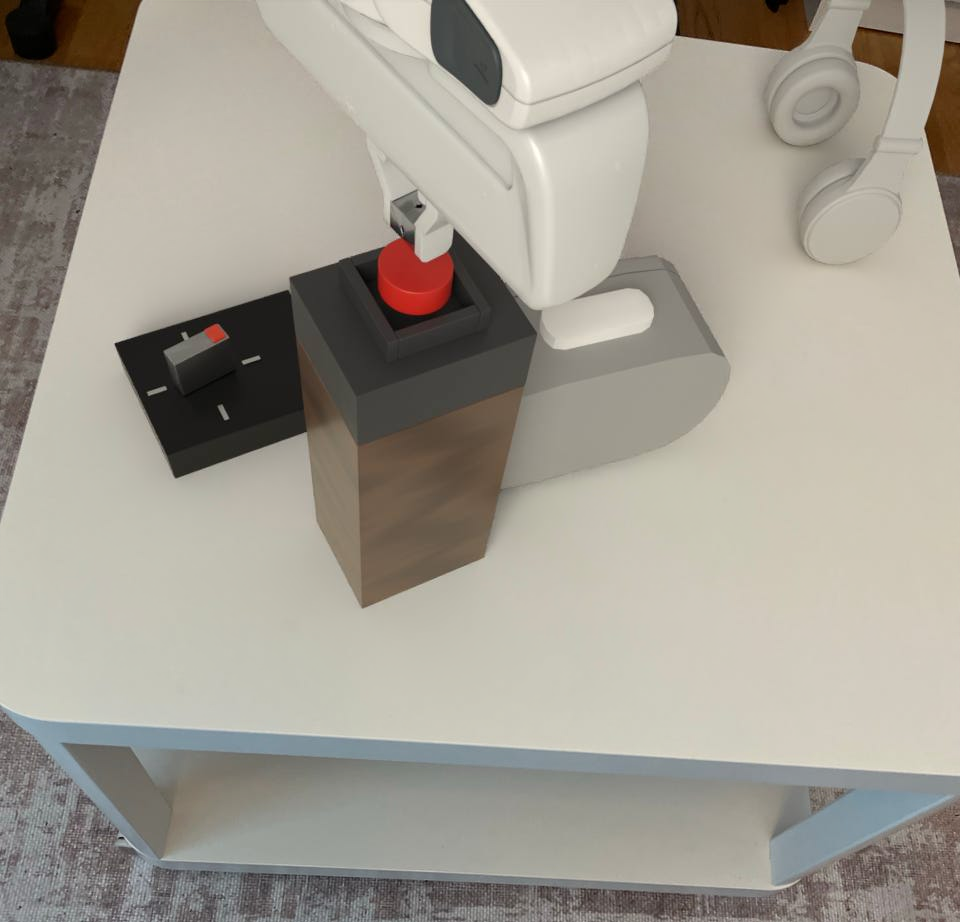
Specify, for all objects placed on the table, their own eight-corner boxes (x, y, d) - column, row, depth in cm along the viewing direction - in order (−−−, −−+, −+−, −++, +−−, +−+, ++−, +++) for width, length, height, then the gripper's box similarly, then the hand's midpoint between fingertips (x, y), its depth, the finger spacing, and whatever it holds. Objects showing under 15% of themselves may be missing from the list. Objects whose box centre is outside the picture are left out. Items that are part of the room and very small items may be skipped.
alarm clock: (647, 355, 77) (699, 227, 65) (695, 445, 74) (759, 329, 62) (417, 408, 72) (426, 282, 60) (458, 507, 69) (476, 395, 57)
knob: (183, 396, 67) (173, 362, 63) (172, 382, 67) (162, 348, 64) (236, 369, 68) (229, 334, 65) (225, 356, 69) (217, 320, 65)
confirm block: (357, 446, 47) (355, 377, 42) (294, 332, 49) (286, 255, 44) (525, 384, 49) (542, 313, 44) (458, 279, 52) (467, 201, 47)
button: (397, 325, 43) (398, 302, 42) (365, 271, 44) (365, 247, 43) (464, 303, 44) (466, 280, 43) (430, 251, 45) (432, 227, 44)
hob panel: (175, 479, 67) (166, 454, 65) (123, 369, 71) (113, 341, 68) (347, 417, 71) (346, 391, 68) (291, 316, 75) (288, 287, 72)
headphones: (748, 115, 90) (840, -106, 73) (828, 119, 91) (937, -98, 74) (788, 268, 83) (901, 62, 65) (874, 271, 84) (1008, 69, 66)
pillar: (362, 609, 65) (357, 446, 47) (316, 520, 67) (294, 332, 49) (484, 557, 68) (525, 384, 49) (436, 474, 70) (458, 279, 52)
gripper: (176, -250, 31) (234, 123, 43) (560, 120, 25) (498, 420, 38) (333, -289, 33) (344, 79, 45) (717, 47, 27) (609, 355, 40)
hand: (417, 237), depth 42 cm, fingers closed
